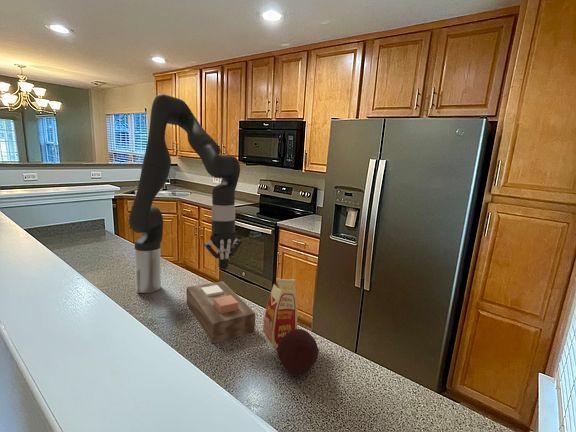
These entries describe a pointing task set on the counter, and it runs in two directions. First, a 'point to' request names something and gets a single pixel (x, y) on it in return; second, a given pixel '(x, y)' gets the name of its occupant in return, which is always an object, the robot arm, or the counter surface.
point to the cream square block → (211, 291)
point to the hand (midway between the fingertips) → (223, 268)
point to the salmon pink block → (225, 304)
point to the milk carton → (280, 311)
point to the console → (216, 323)
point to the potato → (297, 352)
